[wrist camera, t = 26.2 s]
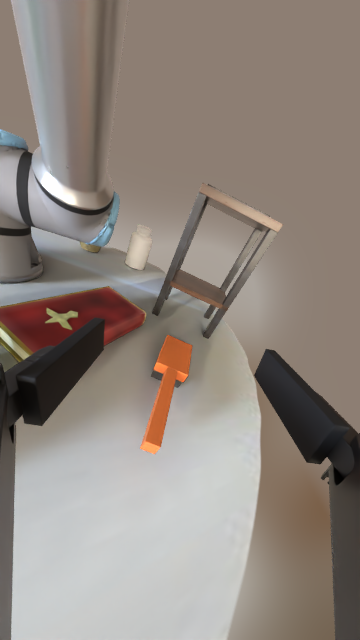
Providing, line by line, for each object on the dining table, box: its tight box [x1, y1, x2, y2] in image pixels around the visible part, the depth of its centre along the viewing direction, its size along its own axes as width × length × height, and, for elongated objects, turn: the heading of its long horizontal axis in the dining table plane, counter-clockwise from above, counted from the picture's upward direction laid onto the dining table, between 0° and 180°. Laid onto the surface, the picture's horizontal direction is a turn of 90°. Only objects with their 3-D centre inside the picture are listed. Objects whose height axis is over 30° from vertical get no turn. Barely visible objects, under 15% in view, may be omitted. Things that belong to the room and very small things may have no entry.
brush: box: [140, 335, 192, 454], centre depth 27 cm, size 19×6×4 cm, turn 170°
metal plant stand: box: [152, 183, 283, 338], centre depth 44 cm, size 13×17×32 cm
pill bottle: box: [125, 224, 152, 270], centre depth 65 cm, size 8×8×15 cm
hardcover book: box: [0, 286, 146, 362], centre depth 31 cm, size 12×21×4 cm, turn 151°
